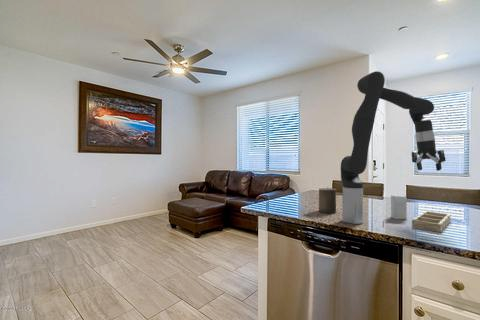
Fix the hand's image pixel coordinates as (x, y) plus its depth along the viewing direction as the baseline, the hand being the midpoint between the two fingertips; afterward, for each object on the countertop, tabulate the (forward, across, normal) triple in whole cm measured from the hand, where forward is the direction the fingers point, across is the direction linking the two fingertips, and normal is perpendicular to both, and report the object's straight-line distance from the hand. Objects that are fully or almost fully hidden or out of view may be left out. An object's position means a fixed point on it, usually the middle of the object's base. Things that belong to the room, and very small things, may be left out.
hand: (429, 170), depth 119 cm
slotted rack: (+24, +6, -14) cm, 28 cm away
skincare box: (+23, -7, -17) cm, 30 cm away
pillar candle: (+18, -32, -43) cm, 57 cm away
